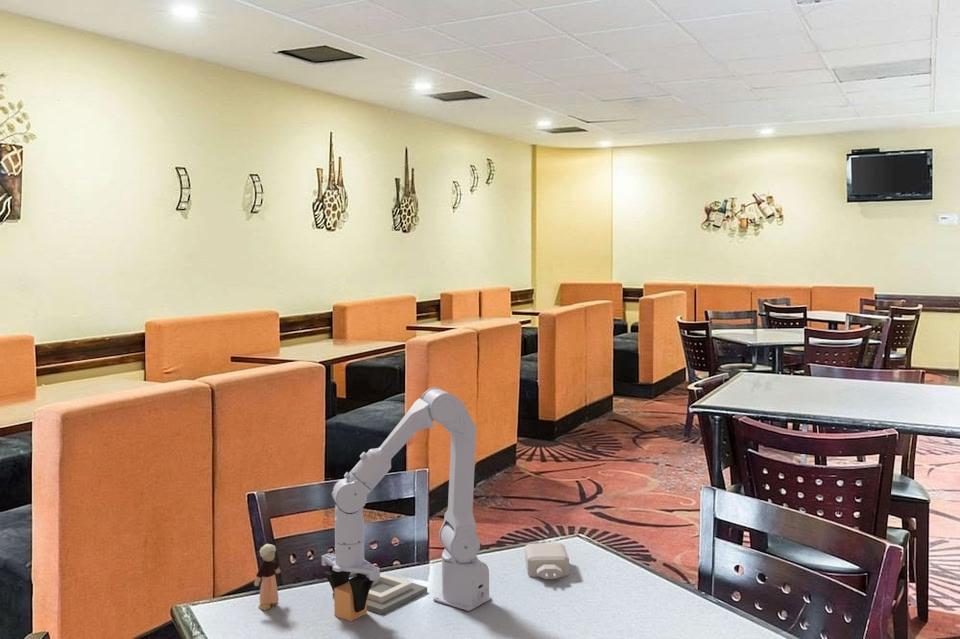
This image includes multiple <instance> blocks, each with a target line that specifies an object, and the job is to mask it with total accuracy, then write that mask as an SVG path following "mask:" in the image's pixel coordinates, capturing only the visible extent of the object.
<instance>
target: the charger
mask: <svg viewBox="0 0 960 639" xmlns="http://www.w3.org/2000/svg"><path fill="white" fill-rule="evenodd" d="M524 552H525V553H524V554H525V555H524V556H525V557H524V558H525V560H524V561H525V566H526V571H527V574H528V576H529V577H532V578H542V579H545V580H553V579H554V580H555V579H559V578H562V577H563V578H564V577H568V576H569V574H570V559H569V556H568V553H567V550H566V547H565V545H564V544H563V543H558V542H550V543H549V542H543V543H542V542H540V543H538V542H536V543H528V544H526V545H525V547H524Z"/></svg>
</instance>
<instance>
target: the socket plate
mask: <svg viewBox="0 0 960 639" xmlns="http://www.w3.org/2000/svg"><path fill="white" fill-rule="evenodd" d="M427 592H428V586H424V585H421V584H418V583H414V582H411V581H408V580H405V579H402V578H397V577H395V576H391V575H388V574H385V573H381V572H380V578H378V579H376V580H374V582H373V584H372V586H371V588H370V590H369V593H368V596H367V611H370V612H374V613H377V614H379V615H383V614H386V613H387V612H389V611H392V610H393V609H395V608H397V607H399V606H401V605H403V604H405V603H407V602H409V601H411V600H413V598H414V599H416V598H418V597H420V596H422V595H424V594H426V593H427ZM419 595H420V596H419ZM417 596H418V597H417ZM415 597H416V598H415ZM332 598H333V599H334V593H333V592H332Z"/></svg>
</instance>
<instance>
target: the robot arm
mask: <svg viewBox="0 0 960 639" xmlns="http://www.w3.org/2000/svg"><path fill="white" fill-rule="evenodd" d="M434 422H436V423H438V424H440V425H441V426H442V427H443V428H444V429H445V430H446V431H447V432H449V434H450V451H449V452H450V453H449V455H450V457H449V477H448V478H449V479H448V499H447V510H446V511H445V513H444V515H443V517H444V518H443V523H442V525H441V527H440V529H439V531H438V538H439V541H440V543H441V545H442V546H444V547H443V548H444V549H443V551H442V553H441V576H442V577H441V579H442V581H441V585H442V588H441V589H442V590H441V592H442V593H440V594H438V595H436V596H434V597H433V601H436V602H438V603H441V604H445V605H447V606H451V607H455V608H457V609H461V610H463V611H467V612H470V611H471V610H473V609H476V608H477V607H479V606H480V605H483V604H484V603H486V602H488V601H490V600H491V599H492V596H491V595H490V572H489V571H490V569H489V567H488V565H487V564H486V563H485V562H483V561H481V560H480V559H479V558H478V557H477V556H478V554H479V551H480V548H481V544H480V542H481V541H480V539H479V537H478V534H477V523H476V520H475V516H474V513H473V511H474V509H473V508H474V489H475V488H474V487H475V486H474V485H475V469H476V468H475V465H476V446H477V445H476V444H477V427H476V426H477V425H476V423H475V422H474V420H473V418H472V417H471V415H470V413H469V412H468V409H467V406H466V404H465V402H463V400H461V399H459V397H457V396H456V395H454V394H453V393H448V392H447V391H445V390H444V389H442V388H439V387H431V388H428V389H427V390H426V391H424V392H423V393H422V395H421V397H420V398H418V399H416V400H415V401H414V402H413V404H412V405H411V407H410V408H409V409H408V411H407V412H406V413H405V415H404V416H402V418H401V419H400V421H399V422H398V423H397V425H396V426H395V427H394V428H393V430H392V431H391V432H390V433H389V434H388V436H387V438H385V440H384V441H382V444H380V446H379V447H376V448H370V449H368V451H367V452H365V451H362V452H361V454H360V455H359V458H360V460H359V461H358V462H357V463H356V464H355V466H354V467H353V468H352V469H351V470H350V471H349V472H348V471H346V472H345V473H344V475H343V477H344V478H342V479H340V480H337V482H336V483H335V484H334V486H333V488H332V492H331V497H332V499H333V501H334V502H335V503H336V504H335V505H334V506H335V509H334V514H335V516H334V549H335V550H334V553H326V554H325V553H324V554H322V555H321V566H324V567H326V566H329V569H328V570H326V571H324V576H325V577H326V579H327V581H328V582H329V583H328V584H329V585H330V587H331V589H332V594H333V593H334V588H336V587H338V586H341V585H343V584H345V583H348V582H349V583H350V586H351V589H352V593H353V601H354V610H355V612H360V611H362V610H364V609H365V604H366V600H367V596H368V593H369V590H370V588H371V586H372V584H373V582H374V580H376V579H378V578H380V573H381V568H380V567H377V566H375V565H373V564H372V563H371V562H369V561H368V560H366V558H365V518H364V509H363V508H364V507H365V505H366V503H367V500H368V499H367V498H368V497H367V496H368V494H370V492H372V491H373V490H374V488H376V486H377V485H379V483H380V481H382V479H383V478H384V477H385V476H386V475H387V473H389V471H390V470H391V469H392V459H393V458H394V456H396V455H397V453H399V451H400V450H401V449H403V447H404V446H405V445H406V444H407V443H408V442H409V441H410V440H411V438H413V436H415V435H416V433H417V432H419V431H420V430H426V429H431V428H432V429H433V428H435V424H434ZM351 573H352V574H354V575H356V576H352V577H351V578H350V574H351Z"/></svg>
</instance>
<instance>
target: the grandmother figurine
mask: <svg viewBox="0 0 960 639" xmlns="http://www.w3.org/2000/svg"><path fill="white" fill-rule="evenodd" d="M276 551H277V547H276V546H275V545H273V544H270V543H266V544H264V545H263V546H261V547H260V550H259V555H260V557H262V558H261V559H262V560H263V562H261V564H260V566H259V569H258V571H257V573H256V574H255V581H254V582H253V584H254V587H258V586H260V587H259V604H258V609H260V610H262V611H268V610H270V609H271V608H272V606H276V605H278V604H279V592H278V586H277V579H276V574H280V573H281V569H280V565H279V562H278V561H277V560H275V557H276ZM260 582H261V584H260Z"/></svg>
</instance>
